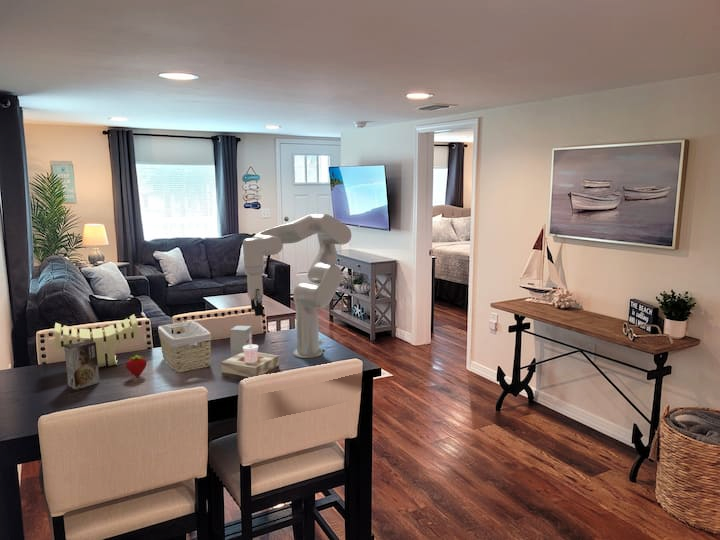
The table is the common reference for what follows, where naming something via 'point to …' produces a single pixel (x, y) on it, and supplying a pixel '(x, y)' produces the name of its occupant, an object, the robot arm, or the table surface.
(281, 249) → the robot arm
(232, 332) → the supplement box
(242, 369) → the socket block
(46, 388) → the table surface
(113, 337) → the slatted curved stool
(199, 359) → the storage basket
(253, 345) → the beverage cup
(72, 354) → the coffee box
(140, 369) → the strawberry
